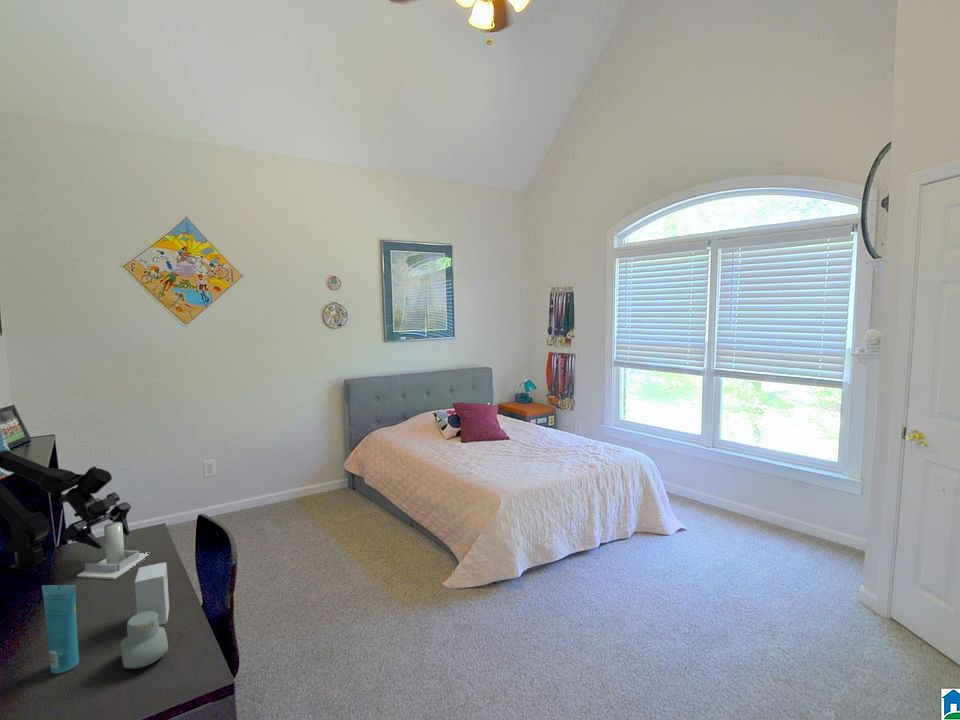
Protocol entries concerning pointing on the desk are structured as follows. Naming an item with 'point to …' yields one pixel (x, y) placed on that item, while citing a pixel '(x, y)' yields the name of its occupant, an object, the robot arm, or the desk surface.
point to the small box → (153, 591)
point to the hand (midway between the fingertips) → (115, 541)
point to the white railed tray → (112, 566)
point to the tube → (61, 626)
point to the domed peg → (114, 543)
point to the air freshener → (143, 641)
